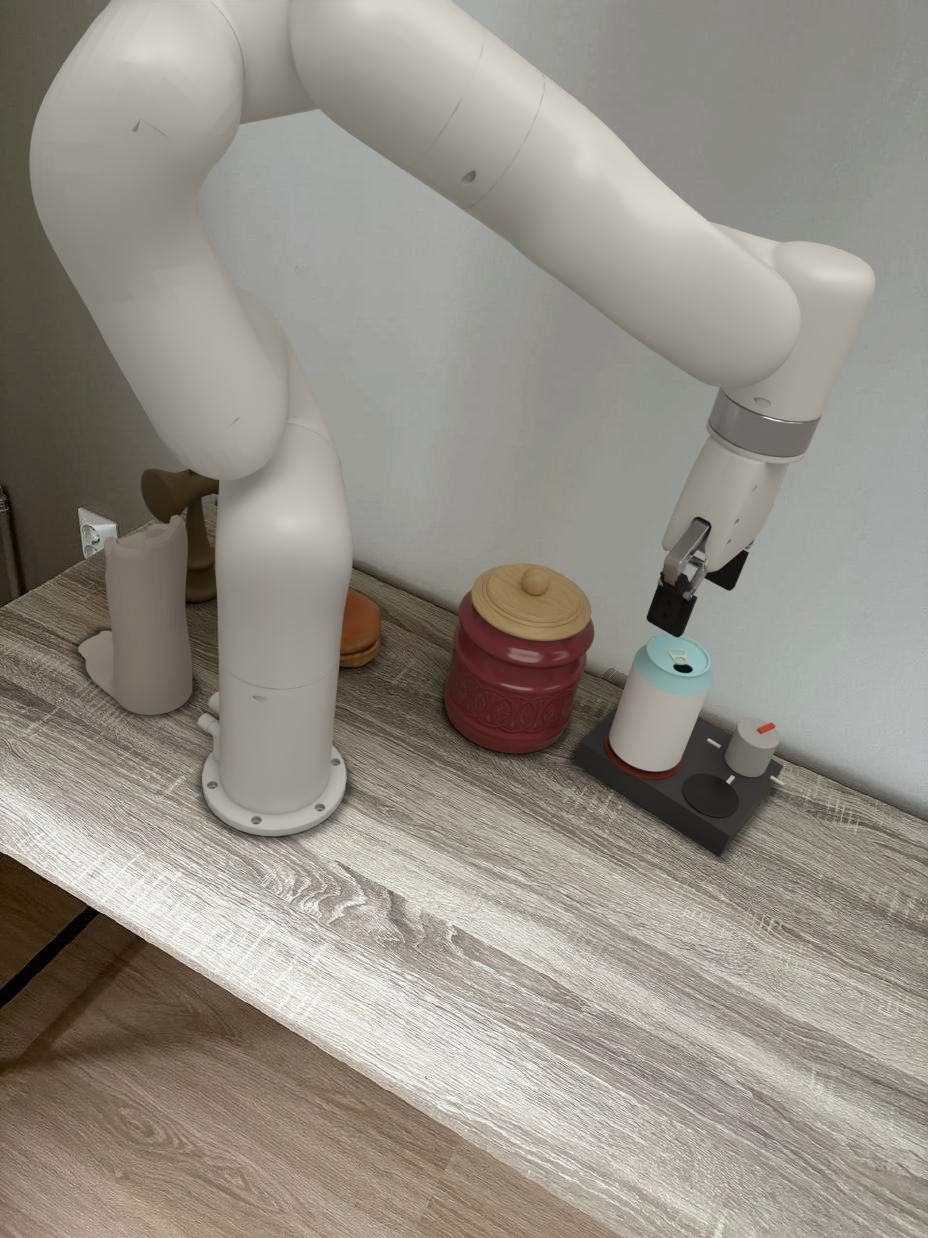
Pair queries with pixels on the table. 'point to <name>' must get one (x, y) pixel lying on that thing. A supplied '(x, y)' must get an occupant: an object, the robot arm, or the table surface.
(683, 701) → the can
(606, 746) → the burners
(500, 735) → the kitchen canister
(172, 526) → the candle
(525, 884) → the table surface
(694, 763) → the stove
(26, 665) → the table surface
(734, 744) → the stove knob
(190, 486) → the kendama
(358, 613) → the burger
